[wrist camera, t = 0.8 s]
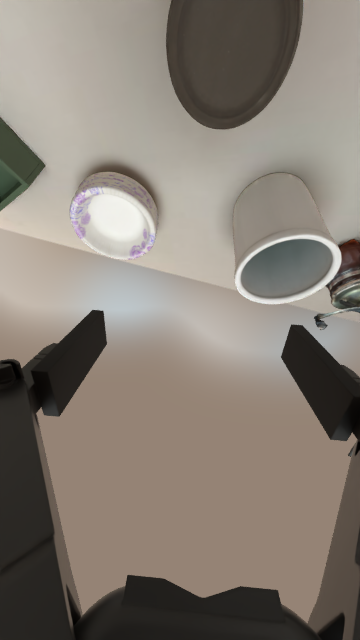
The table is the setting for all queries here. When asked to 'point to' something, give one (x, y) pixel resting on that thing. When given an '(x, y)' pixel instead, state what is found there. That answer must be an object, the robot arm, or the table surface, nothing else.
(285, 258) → the utensil holder
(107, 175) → the paper bowls
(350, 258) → the coffee grinder
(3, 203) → the tote
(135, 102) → the table surface
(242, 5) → the coffee can
